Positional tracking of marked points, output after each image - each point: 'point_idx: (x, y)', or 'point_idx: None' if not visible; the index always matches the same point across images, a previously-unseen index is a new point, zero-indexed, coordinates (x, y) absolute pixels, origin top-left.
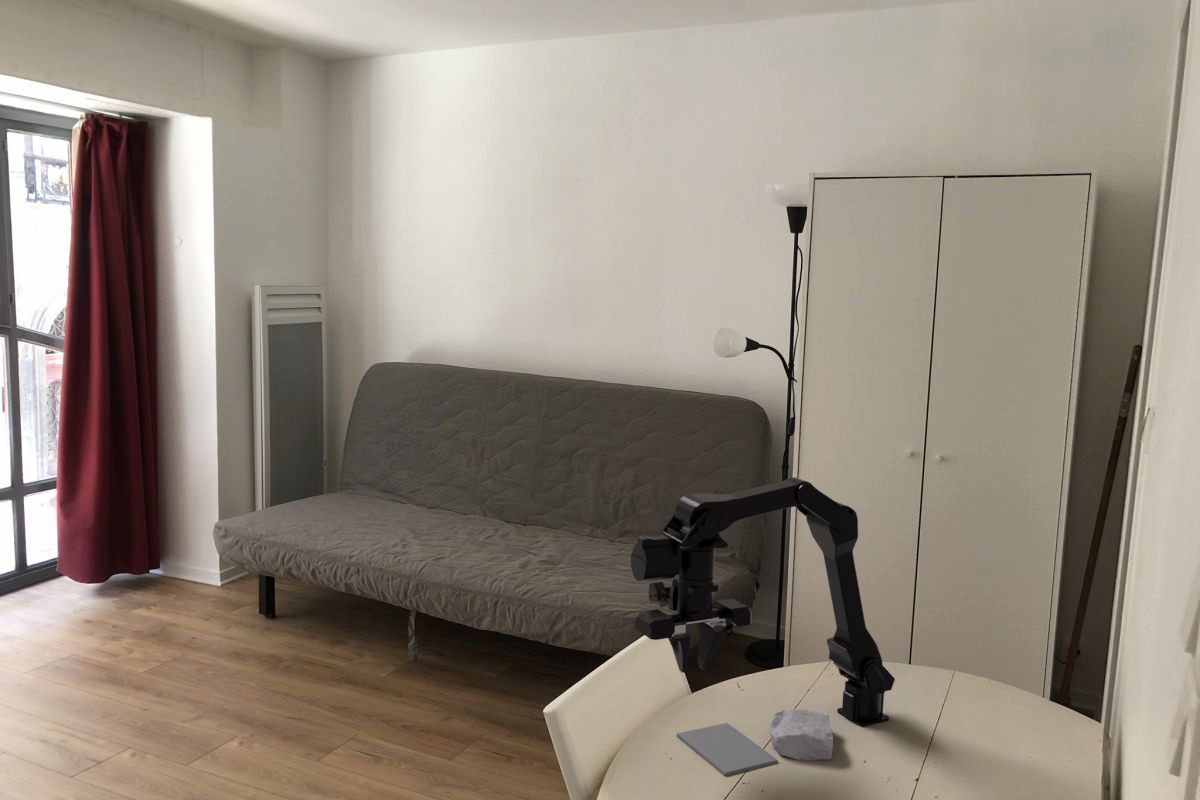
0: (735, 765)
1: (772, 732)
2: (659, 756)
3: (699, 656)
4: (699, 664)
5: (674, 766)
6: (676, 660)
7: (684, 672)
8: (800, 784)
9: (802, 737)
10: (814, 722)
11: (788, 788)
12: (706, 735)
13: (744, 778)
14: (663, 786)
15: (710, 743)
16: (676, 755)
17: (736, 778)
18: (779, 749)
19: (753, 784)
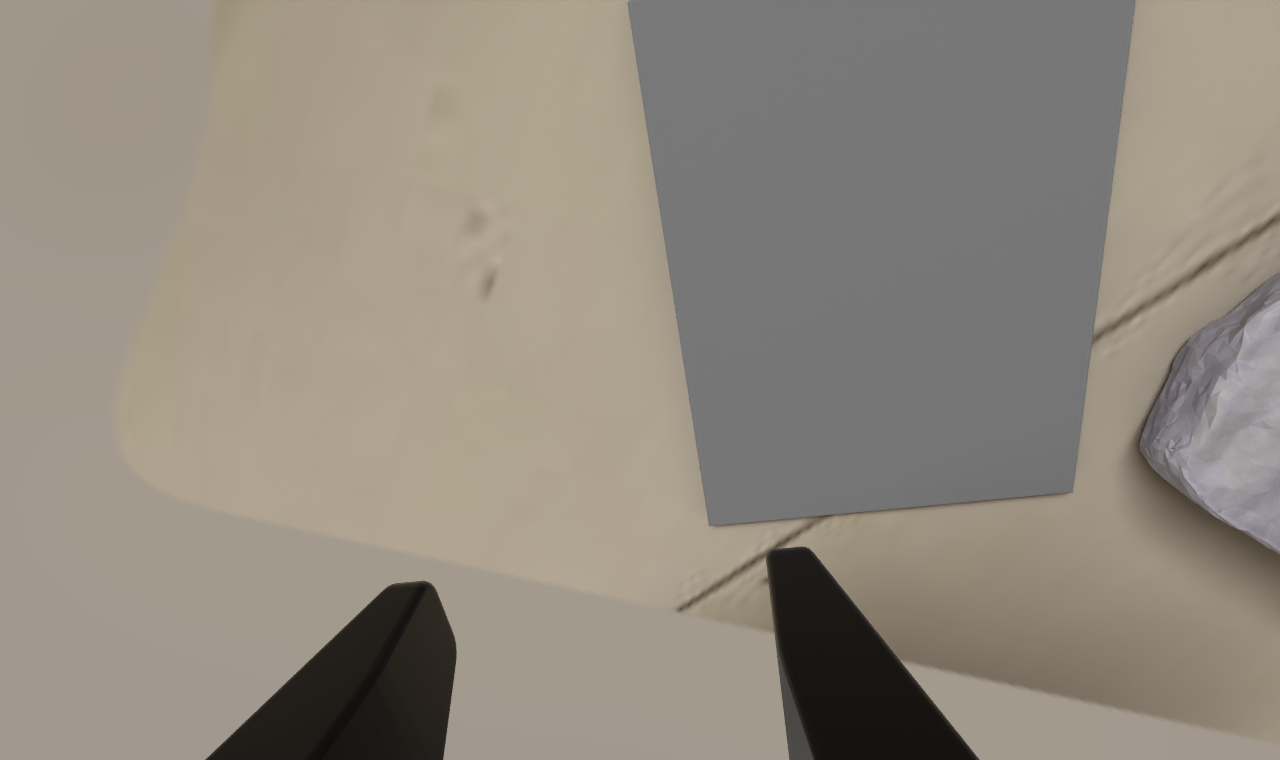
0: (805, 483)
1: (1250, 357)
2: (420, 247)
3: (788, 706)
4: (770, 596)
5: (479, 372)
6: (264, 714)
7: (451, 647)
8: (1018, 647)
9: None
10: None
11: (940, 657)
12: (840, 98)
13: None
14: (370, 516)
15: (802, 223)
16: (532, 262)
17: (756, 543)
18: (1148, 460)
19: None
